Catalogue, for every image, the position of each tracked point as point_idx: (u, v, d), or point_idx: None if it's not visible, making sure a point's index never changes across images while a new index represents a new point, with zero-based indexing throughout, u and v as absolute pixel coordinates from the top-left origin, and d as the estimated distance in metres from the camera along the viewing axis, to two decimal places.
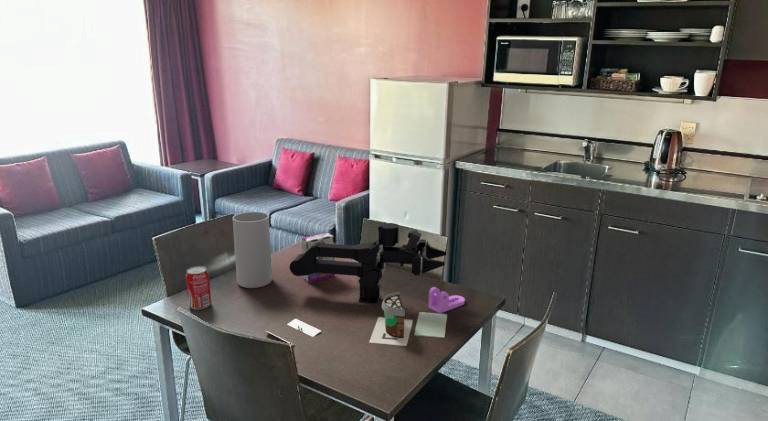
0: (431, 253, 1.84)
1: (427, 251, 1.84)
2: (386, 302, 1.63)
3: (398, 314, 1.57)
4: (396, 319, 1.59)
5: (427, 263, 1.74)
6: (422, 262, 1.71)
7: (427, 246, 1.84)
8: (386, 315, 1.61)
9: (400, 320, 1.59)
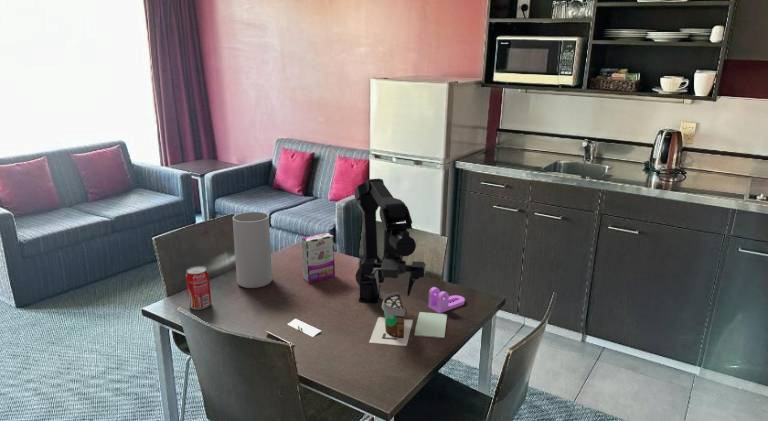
0: None
1: (410, 275, 1.59)
2: (386, 302, 1.63)
3: (398, 314, 1.57)
4: (396, 319, 1.59)
5: None
6: None
7: None
8: (386, 315, 1.61)
9: (400, 320, 1.59)
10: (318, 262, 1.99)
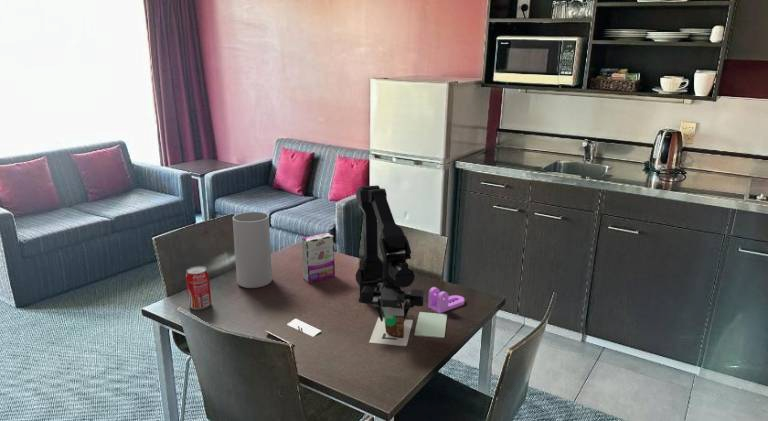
0: None
1: None
2: None
3: (397, 314, 1.57)
4: (396, 319, 1.59)
5: None
6: None
7: (404, 306, 1.60)
8: (386, 315, 1.61)
9: (400, 320, 1.59)
10: (318, 262, 1.99)
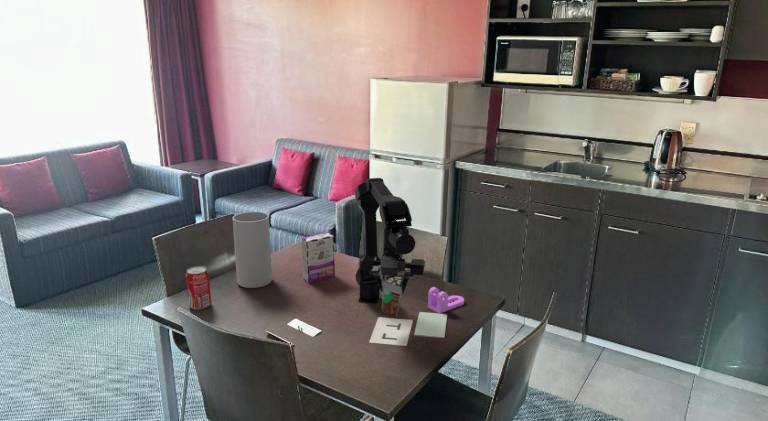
0: None
1: None
2: (388, 278, 1.61)
3: (394, 291, 1.55)
4: (392, 296, 1.56)
5: None
6: None
7: (404, 275, 1.58)
8: (384, 291, 1.59)
9: (395, 298, 1.56)
10: (318, 262, 1.99)
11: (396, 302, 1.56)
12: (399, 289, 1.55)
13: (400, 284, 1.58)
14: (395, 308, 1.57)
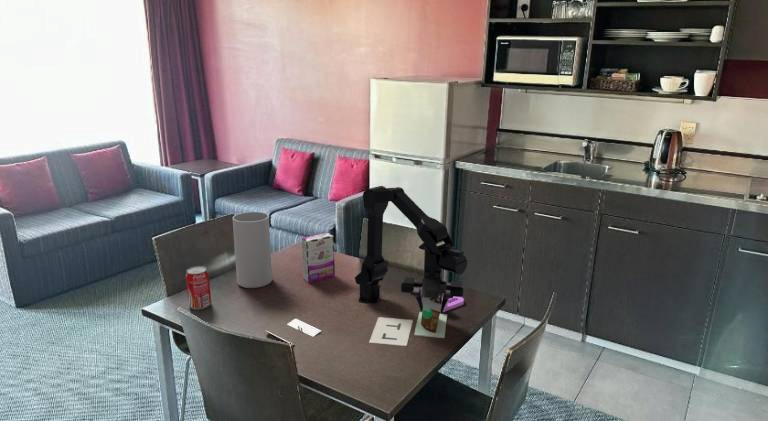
0: None
1: (443, 294, 1.66)
2: None
3: (434, 308, 1.60)
4: (432, 313, 1.62)
5: None
6: None
7: (443, 296, 1.64)
8: (424, 307, 1.65)
9: (436, 315, 1.61)
10: (318, 262, 1.99)
11: (436, 319, 1.62)
12: (440, 307, 1.60)
13: (440, 301, 1.64)
14: (435, 324, 1.63)
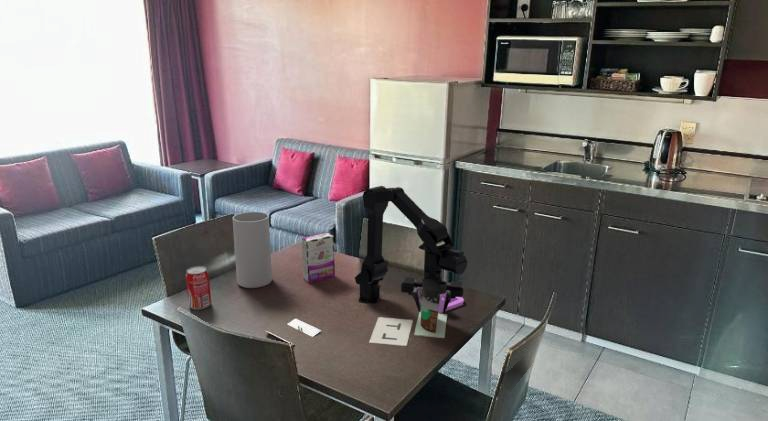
0: (445, 298, 1.66)
1: (446, 294, 1.65)
2: None
3: (432, 308, 1.60)
4: (430, 313, 1.62)
5: None
6: None
7: (445, 297, 1.64)
8: (422, 308, 1.65)
9: (434, 315, 1.62)
10: (318, 262, 1.99)
11: (435, 319, 1.62)
12: (437, 306, 1.60)
13: (437, 300, 1.64)
14: (434, 324, 1.63)
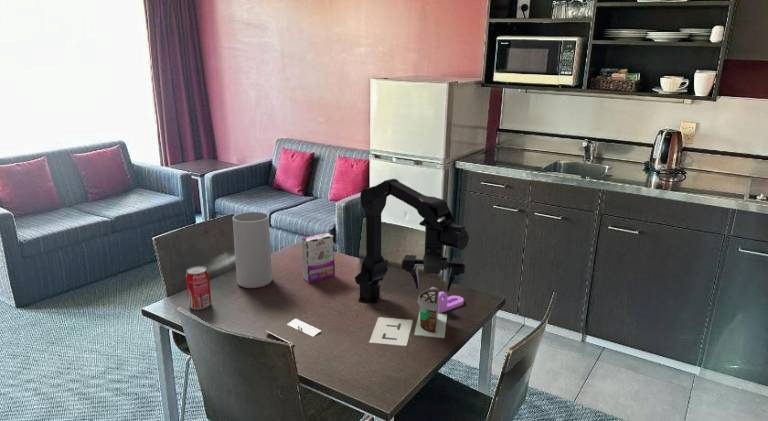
0: None
1: (450, 271, 1.63)
2: (422, 296, 1.67)
3: (430, 308, 1.61)
4: (428, 313, 1.62)
5: None
6: None
7: (450, 274, 1.61)
8: (420, 308, 1.65)
9: (432, 315, 1.62)
10: (318, 262, 1.99)
11: (433, 318, 1.62)
12: (435, 306, 1.60)
13: (435, 300, 1.64)
14: (433, 324, 1.63)
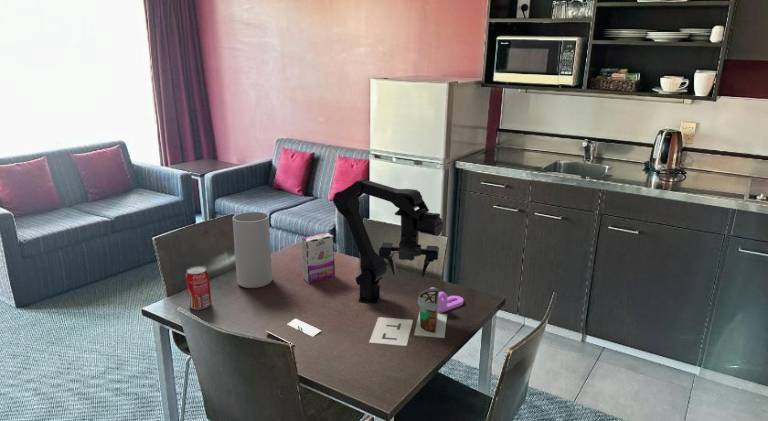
0: None
1: None
2: (422, 296, 1.67)
3: (430, 308, 1.61)
4: (428, 313, 1.62)
5: None
6: None
7: (424, 260, 1.71)
8: (420, 308, 1.65)
9: (432, 315, 1.62)
10: (318, 262, 1.99)
11: (433, 318, 1.62)
12: (435, 306, 1.60)
13: (435, 300, 1.64)
14: (433, 324, 1.63)
